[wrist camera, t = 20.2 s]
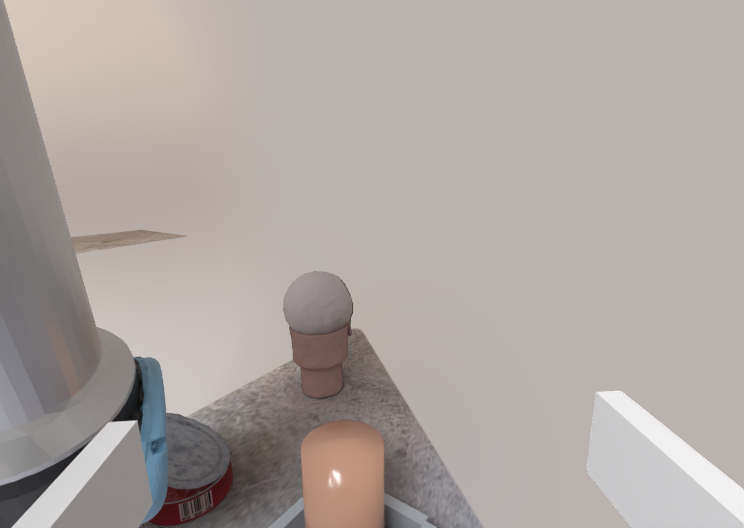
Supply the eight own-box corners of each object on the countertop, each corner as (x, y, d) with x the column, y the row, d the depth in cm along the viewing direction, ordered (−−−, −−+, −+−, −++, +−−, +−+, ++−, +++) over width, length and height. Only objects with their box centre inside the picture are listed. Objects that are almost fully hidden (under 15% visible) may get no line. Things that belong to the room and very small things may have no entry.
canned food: (199, 489, 52) (222, 411, 54) (238, 526, 46) (262, 436, 47) (103, 500, 44) (133, 408, 46) (131, 547, 38) (165, 437, 39)
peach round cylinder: (297, 596, 33) (289, 471, 31) (317, 525, 40) (312, 418, 38) (381, 605, 32) (380, 477, 30) (387, 531, 39) (387, 422, 37)
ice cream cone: (368, 388, 66) (365, 272, 62) (311, 414, 60) (303, 286, 55) (332, 365, 75) (326, 261, 70) (278, 386, 68) (268, 272, 63)
